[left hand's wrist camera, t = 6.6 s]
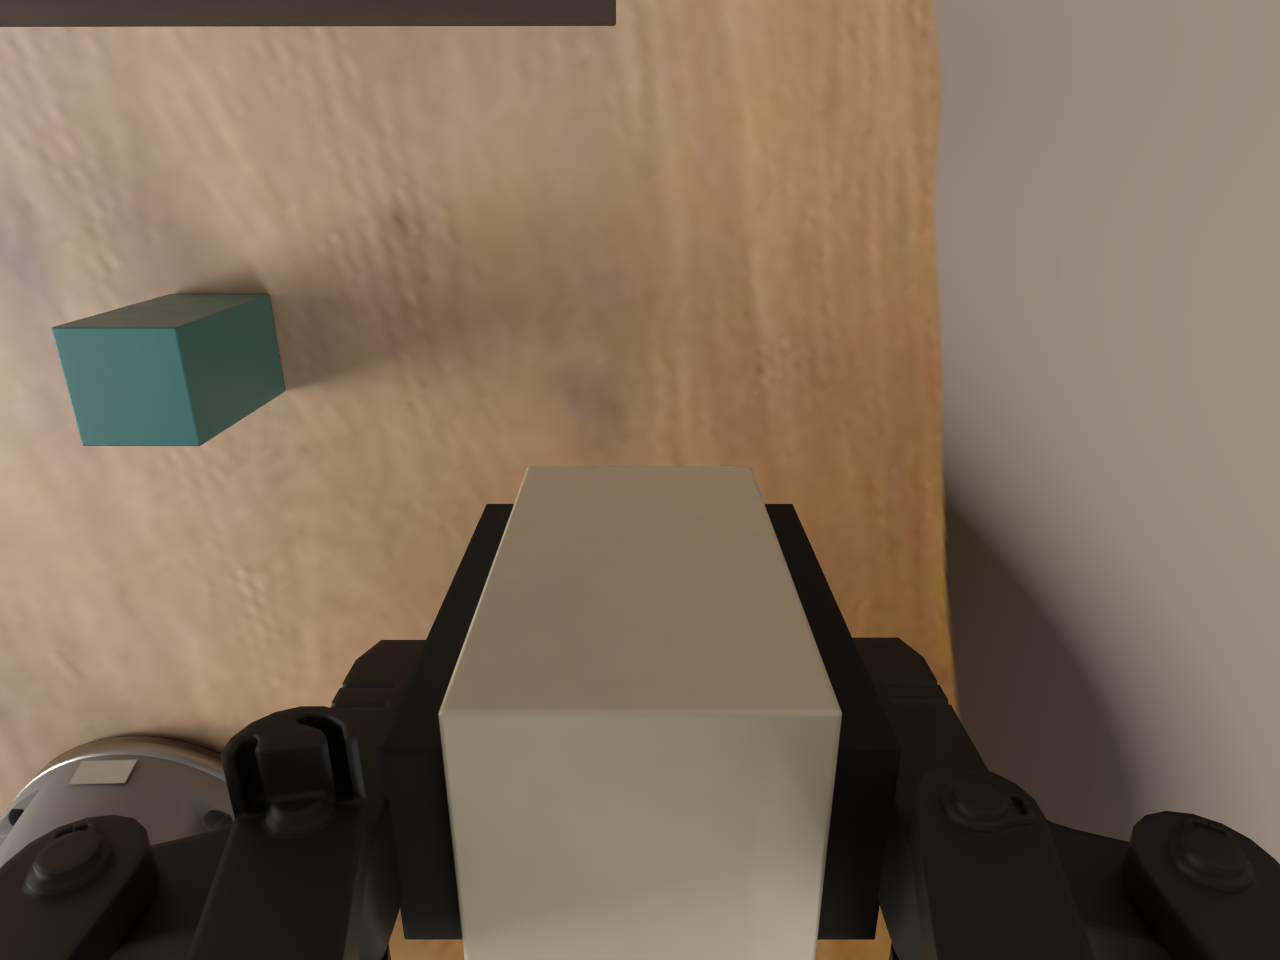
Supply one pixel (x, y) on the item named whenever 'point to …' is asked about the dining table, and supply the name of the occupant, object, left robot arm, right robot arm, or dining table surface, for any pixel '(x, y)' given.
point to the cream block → (639, 728)
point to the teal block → (170, 368)
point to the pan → (306, 13)
